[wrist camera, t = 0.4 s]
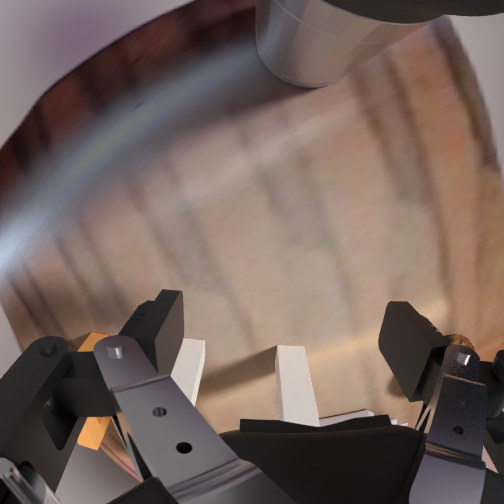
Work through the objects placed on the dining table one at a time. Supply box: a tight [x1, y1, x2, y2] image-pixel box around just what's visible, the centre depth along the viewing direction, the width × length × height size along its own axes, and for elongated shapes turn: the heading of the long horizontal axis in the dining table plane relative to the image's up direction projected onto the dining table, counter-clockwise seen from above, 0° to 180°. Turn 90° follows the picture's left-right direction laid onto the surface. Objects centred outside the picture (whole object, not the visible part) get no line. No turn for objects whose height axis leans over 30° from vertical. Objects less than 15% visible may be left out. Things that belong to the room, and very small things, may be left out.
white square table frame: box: [171, 338, 320, 427], centre depth 29 cm, size 18×14×17 cm
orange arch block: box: [77, 332, 111, 450], centre depth 31 cm, size 10×2×10 cm, turn 176°
